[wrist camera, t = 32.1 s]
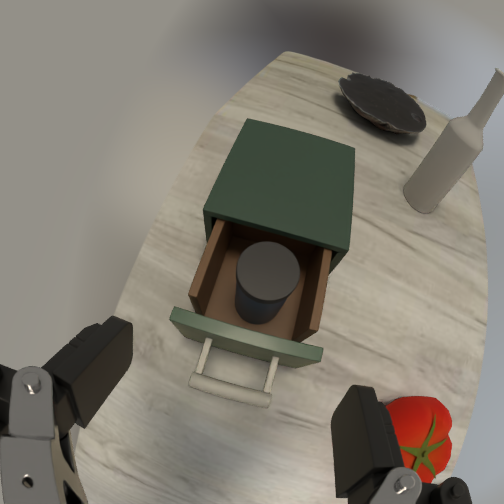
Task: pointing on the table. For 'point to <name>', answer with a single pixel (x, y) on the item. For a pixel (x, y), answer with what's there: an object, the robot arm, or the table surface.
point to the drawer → (240, 331)
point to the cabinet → (287, 187)
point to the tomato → (422, 434)
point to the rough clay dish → (383, 104)
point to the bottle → (453, 151)
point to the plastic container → (264, 281)
